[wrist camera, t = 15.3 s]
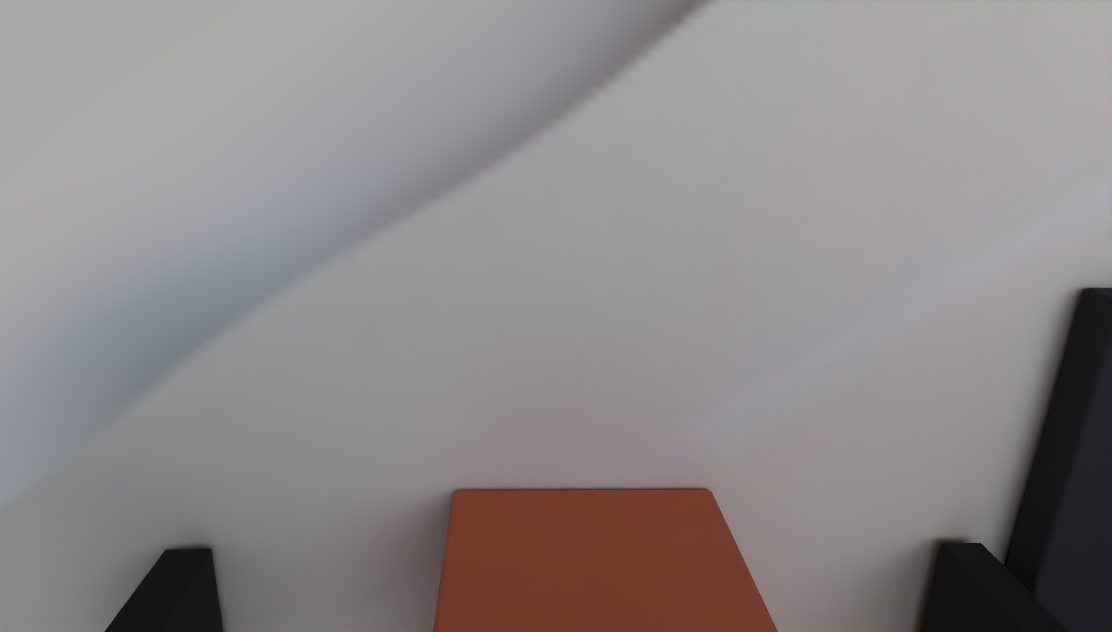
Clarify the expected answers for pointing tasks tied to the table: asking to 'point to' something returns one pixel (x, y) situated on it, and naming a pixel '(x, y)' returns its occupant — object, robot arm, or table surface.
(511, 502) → the terracotta block
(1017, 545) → the charcoal mat
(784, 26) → the table surface
